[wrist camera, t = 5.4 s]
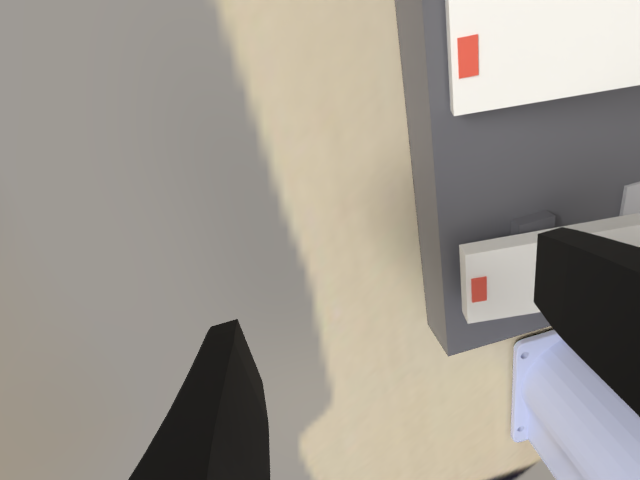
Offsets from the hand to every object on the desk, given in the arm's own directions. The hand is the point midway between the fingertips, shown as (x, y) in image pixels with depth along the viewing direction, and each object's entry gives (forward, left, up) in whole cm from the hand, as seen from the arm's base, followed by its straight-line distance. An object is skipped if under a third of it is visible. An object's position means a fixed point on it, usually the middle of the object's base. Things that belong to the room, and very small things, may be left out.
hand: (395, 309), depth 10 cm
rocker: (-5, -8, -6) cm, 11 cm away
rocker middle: (+4, -8, -6) cm, 11 cm away
